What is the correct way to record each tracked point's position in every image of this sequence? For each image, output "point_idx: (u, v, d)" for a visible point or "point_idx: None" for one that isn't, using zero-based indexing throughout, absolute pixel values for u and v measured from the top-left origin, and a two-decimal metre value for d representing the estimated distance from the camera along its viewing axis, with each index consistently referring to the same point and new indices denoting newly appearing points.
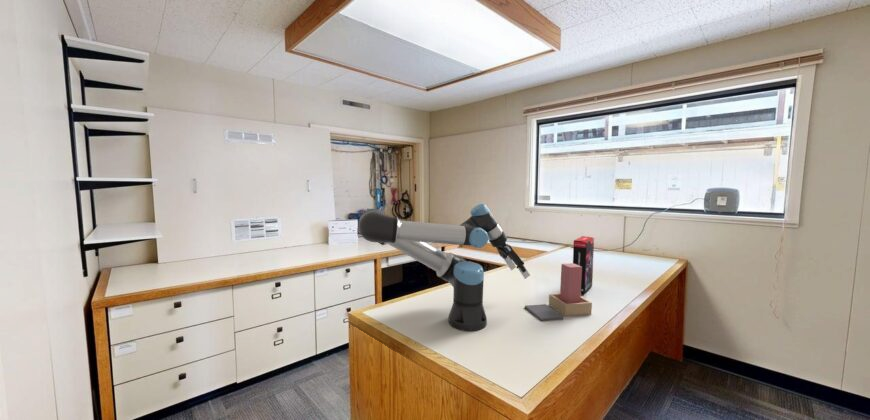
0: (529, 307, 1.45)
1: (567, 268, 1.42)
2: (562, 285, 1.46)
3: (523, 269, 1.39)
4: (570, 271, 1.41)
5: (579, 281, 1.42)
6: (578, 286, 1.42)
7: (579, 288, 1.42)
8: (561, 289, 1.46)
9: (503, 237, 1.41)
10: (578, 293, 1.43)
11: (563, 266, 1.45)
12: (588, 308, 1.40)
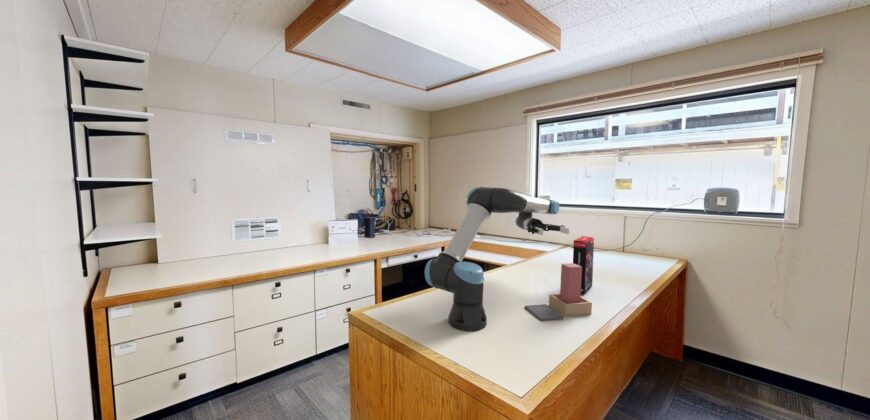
0: (529, 307, 1.45)
1: (567, 268, 1.42)
2: (562, 285, 1.46)
3: None
4: (570, 271, 1.41)
5: (579, 281, 1.42)
6: (578, 286, 1.42)
7: (579, 288, 1.42)
8: (561, 289, 1.46)
9: None
10: (578, 293, 1.43)
11: (563, 266, 1.45)
12: (588, 308, 1.40)
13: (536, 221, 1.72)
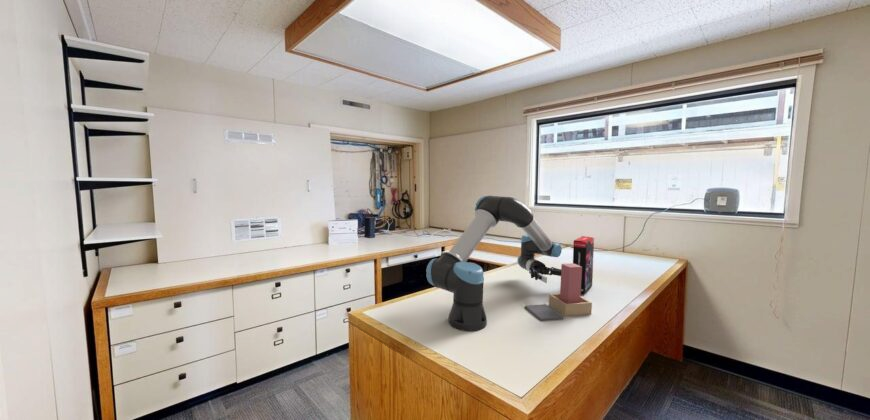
0: (529, 307, 1.45)
1: (567, 268, 1.42)
2: (562, 285, 1.46)
3: None
4: (570, 271, 1.41)
5: (579, 281, 1.42)
6: (578, 286, 1.42)
7: (579, 288, 1.42)
8: (561, 289, 1.46)
9: None
10: (578, 293, 1.43)
11: (563, 266, 1.45)
12: (588, 308, 1.40)
13: (539, 264, 1.70)
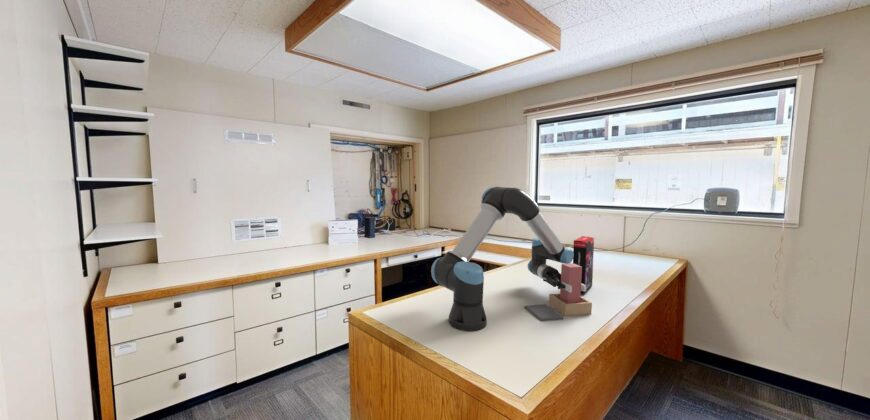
0: (529, 307, 1.45)
1: (567, 268, 1.42)
2: None
3: None
4: (570, 271, 1.41)
5: (579, 281, 1.42)
6: (578, 286, 1.42)
7: (579, 288, 1.42)
8: (561, 289, 1.46)
9: None
10: (578, 293, 1.43)
11: (563, 266, 1.45)
12: (588, 308, 1.40)
13: (552, 270, 1.58)
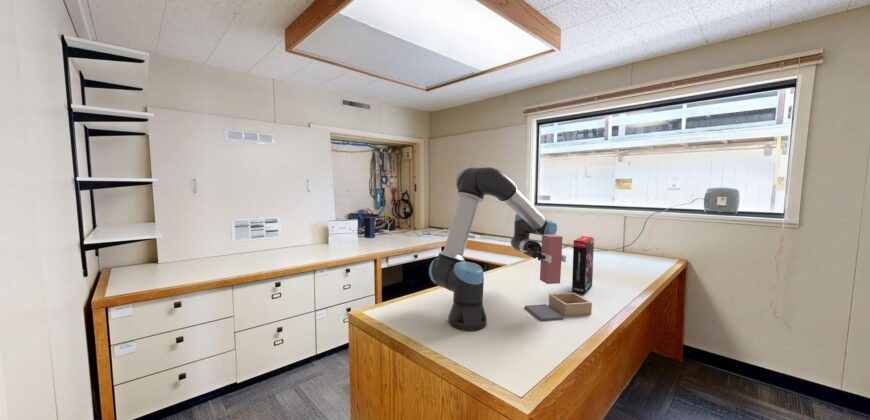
0: (529, 307, 1.45)
1: (547, 238, 1.37)
2: None
3: None
4: (550, 241, 1.36)
5: (559, 252, 1.37)
6: (558, 257, 1.37)
7: (559, 259, 1.37)
8: (541, 261, 1.41)
9: None
10: (558, 264, 1.37)
11: (543, 236, 1.40)
12: (588, 308, 1.40)
13: (533, 244, 1.53)
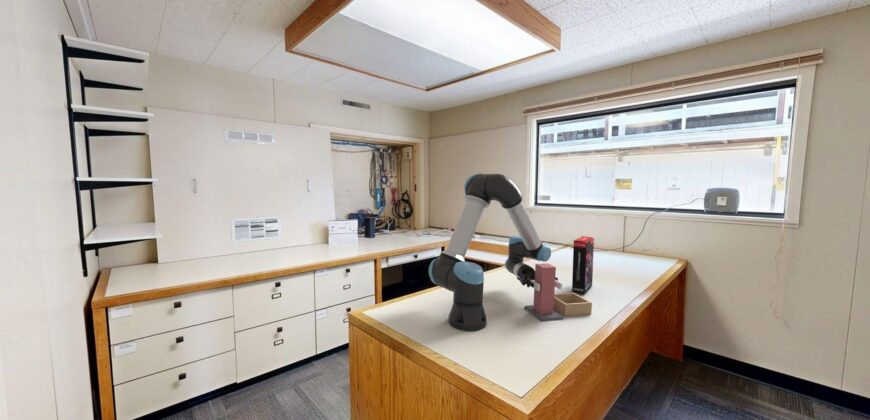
0: (529, 307, 1.45)
1: (540, 268, 1.37)
2: None
3: None
4: (543, 272, 1.36)
5: (553, 282, 1.37)
6: (552, 287, 1.37)
7: (553, 289, 1.37)
8: (535, 290, 1.41)
9: None
10: (552, 294, 1.38)
11: (537, 266, 1.40)
12: (588, 308, 1.40)
13: (527, 269, 1.53)
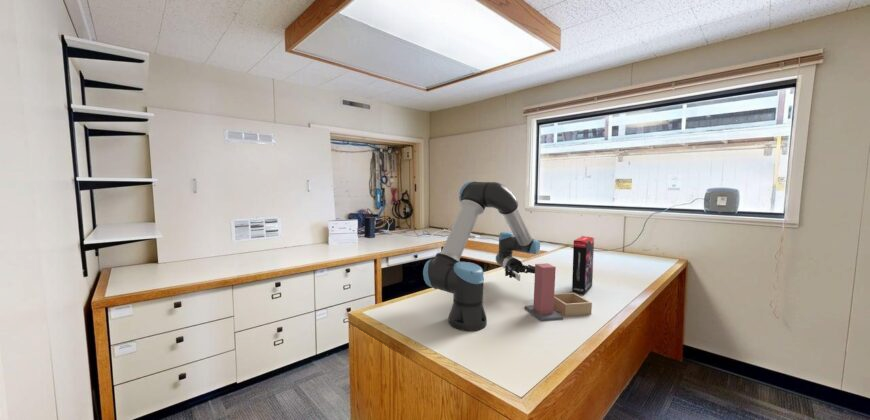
0: (529, 307, 1.45)
1: (540, 268, 1.37)
2: (536, 286, 1.41)
3: None
4: (543, 272, 1.36)
5: (553, 282, 1.37)
6: (551, 287, 1.37)
7: (553, 289, 1.37)
8: (535, 290, 1.42)
9: None
10: (552, 294, 1.38)
11: (536, 266, 1.40)
12: (588, 308, 1.40)
13: (515, 262, 1.66)
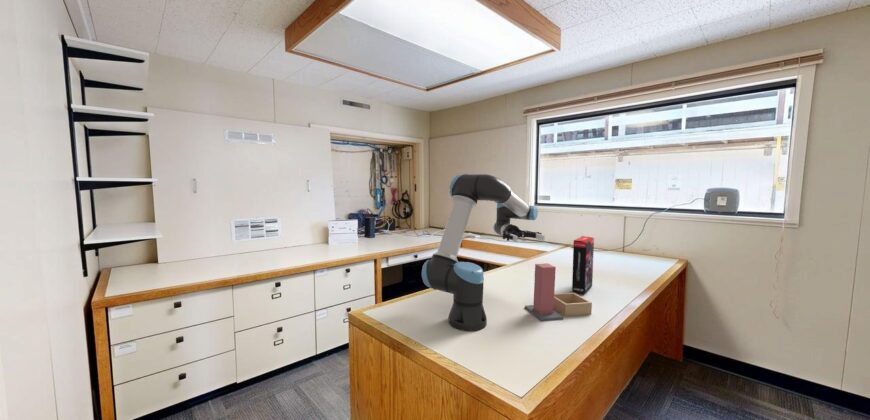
0: (529, 307, 1.45)
1: (540, 268, 1.37)
2: (536, 286, 1.41)
3: None
4: (543, 272, 1.36)
5: (553, 282, 1.37)
6: (551, 287, 1.37)
7: (553, 289, 1.37)
8: (535, 290, 1.42)
9: None
10: (552, 294, 1.38)
11: (536, 266, 1.40)
12: (588, 308, 1.40)
13: (513, 227, 1.68)
